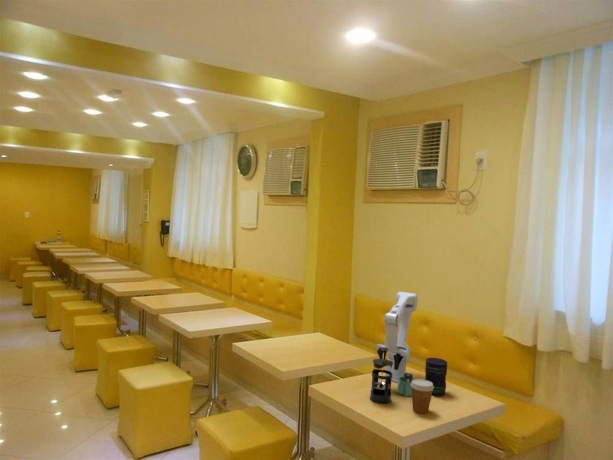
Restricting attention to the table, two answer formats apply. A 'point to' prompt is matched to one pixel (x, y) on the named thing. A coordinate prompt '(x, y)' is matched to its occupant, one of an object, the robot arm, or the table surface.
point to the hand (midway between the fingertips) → (389, 367)
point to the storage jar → (436, 375)
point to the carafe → (405, 386)
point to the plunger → (408, 376)
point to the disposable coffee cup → (421, 395)
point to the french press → (381, 389)
